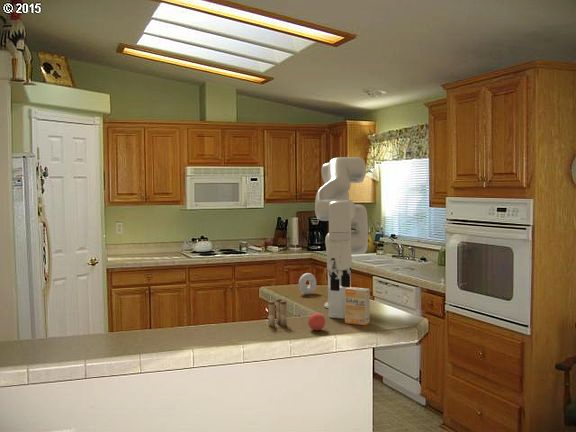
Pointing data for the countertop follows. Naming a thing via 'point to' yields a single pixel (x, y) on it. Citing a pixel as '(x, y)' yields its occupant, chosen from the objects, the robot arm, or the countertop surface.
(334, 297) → the skincare box
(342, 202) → the robot arm
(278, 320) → the pin
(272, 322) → the pin
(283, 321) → the front pin
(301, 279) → the donut
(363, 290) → the supplement box
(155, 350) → the countertop surface
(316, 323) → the ball
